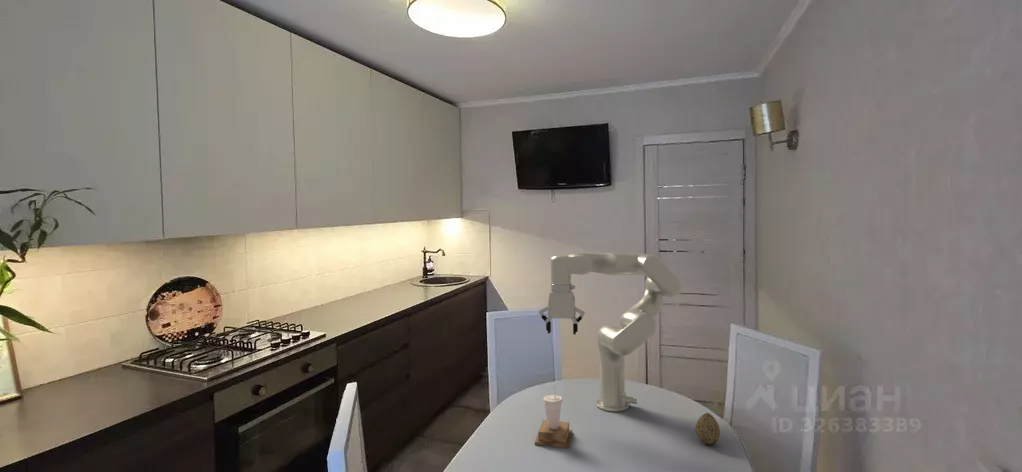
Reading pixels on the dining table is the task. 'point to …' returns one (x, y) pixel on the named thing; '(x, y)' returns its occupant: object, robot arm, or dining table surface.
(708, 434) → the decorative egg
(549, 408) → the smoothie
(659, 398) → the dining table surface
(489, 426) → the dining table surface
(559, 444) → the pedestal
